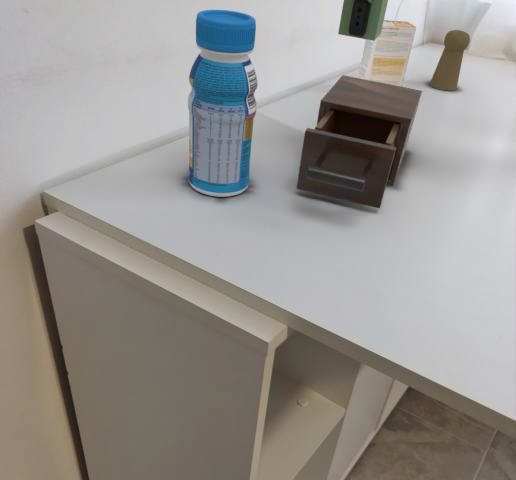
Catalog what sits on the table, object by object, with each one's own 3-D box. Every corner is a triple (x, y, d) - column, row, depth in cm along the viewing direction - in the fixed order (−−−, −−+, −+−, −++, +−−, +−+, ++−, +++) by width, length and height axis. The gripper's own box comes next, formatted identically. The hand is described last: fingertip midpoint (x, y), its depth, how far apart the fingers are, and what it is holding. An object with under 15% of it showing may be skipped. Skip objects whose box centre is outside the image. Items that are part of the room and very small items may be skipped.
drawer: (372, 228, 66) (388, 167, 61) (284, 206, 68) (292, 146, 63) (393, 170, 80) (408, 117, 75) (320, 154, 82) (329, 101, 77)
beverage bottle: (205, 203, 68) (210, 25, 55) (176, 176, 73) (175, 7, 60) (261, 192, 72) (278, 23, 59) (230, 167, 77) (239, 6, 64)
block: (346, 27, 76) (353, -15, 72) (380, 34, 75) (390, -9, 71) (337, 34, 72) (345, -10, 69) (374, 40, 71) (383, -4, 68)
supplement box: (391, 91, 114) (408, 20, 105) (399, 98, 110) (417, 26, 102) (354, 89, 112) (369, 17, 104) (361, 97, 109) (377, 23, 100)
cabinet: (392, 186, 78) (411, 118, 71) (309, 167, 80) (320, 100, 74) (405, 152, 88) (422, 90, 82) (331, 136, 91) (342, 75, 84)
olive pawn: (455, 92, 118) (473, 36, 110) (427, 87, 119) (443, 31, 112) (457, 85, 122) (475, 31, 115) (431, 80, 123) (446, 26, 116)
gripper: (372, -136, 68) (345, 18, 79) (348, -143, 57) (320, 36, 69) (431, -129, 66) (395, 27, 77) (417, -135, 56) (378, 47, 67)
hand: (360, 30), depth 73 cm, fingers closed on block, 5 cm apart
